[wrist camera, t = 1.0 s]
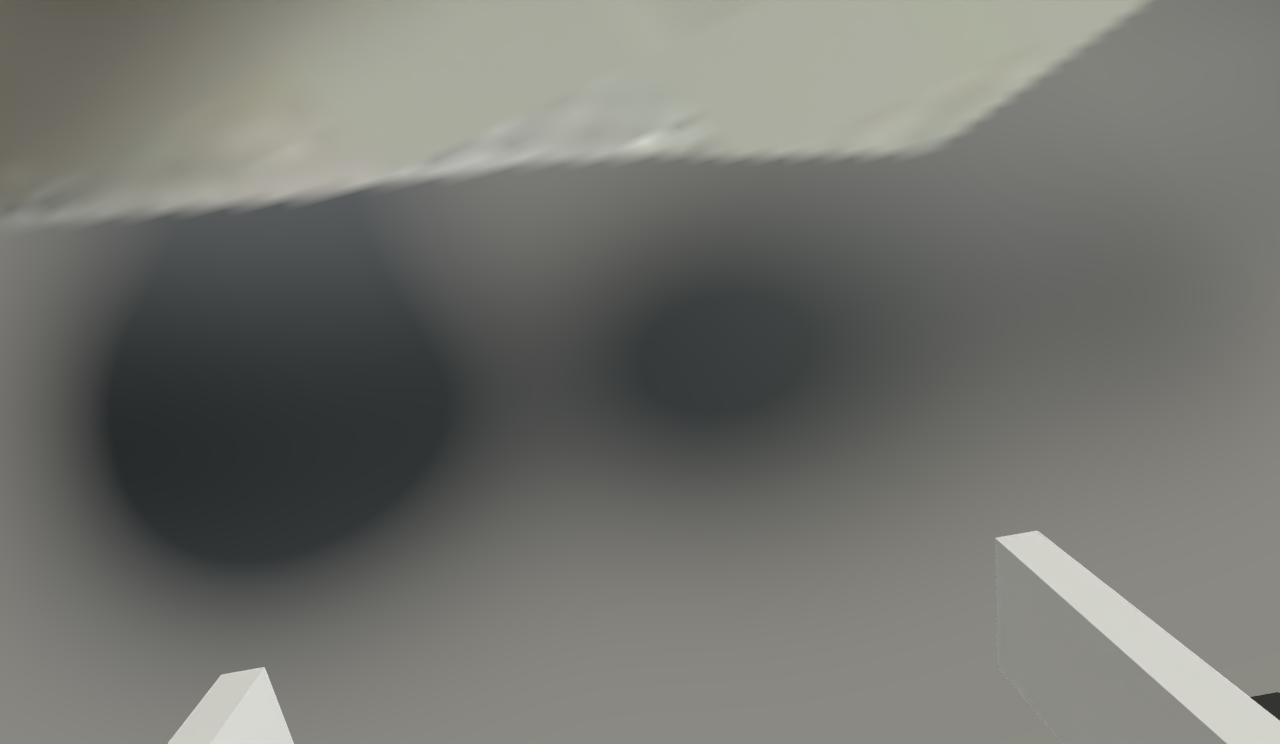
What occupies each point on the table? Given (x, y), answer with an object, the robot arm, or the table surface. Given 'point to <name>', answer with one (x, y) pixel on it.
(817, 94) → the table surface
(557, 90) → the table surface
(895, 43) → the table surface
